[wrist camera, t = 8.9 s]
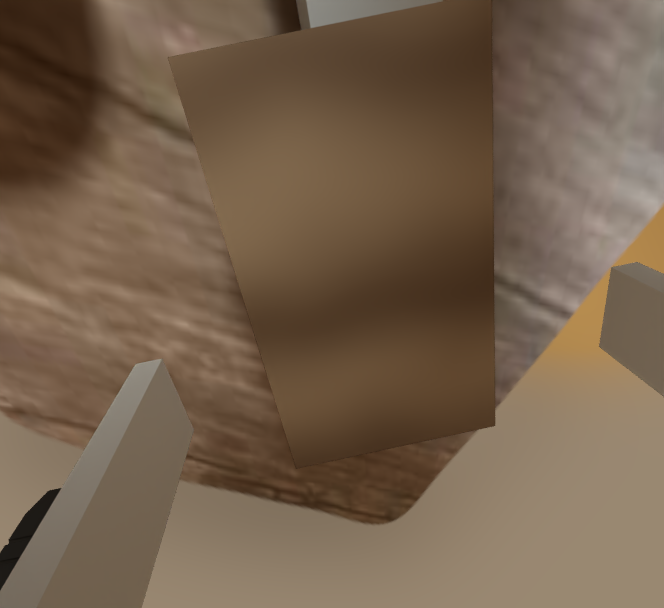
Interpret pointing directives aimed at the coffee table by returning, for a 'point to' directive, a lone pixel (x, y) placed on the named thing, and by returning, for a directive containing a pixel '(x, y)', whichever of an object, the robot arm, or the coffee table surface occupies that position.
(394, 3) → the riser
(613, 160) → the coffee table surface
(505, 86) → the coffee table surface
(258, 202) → the board
